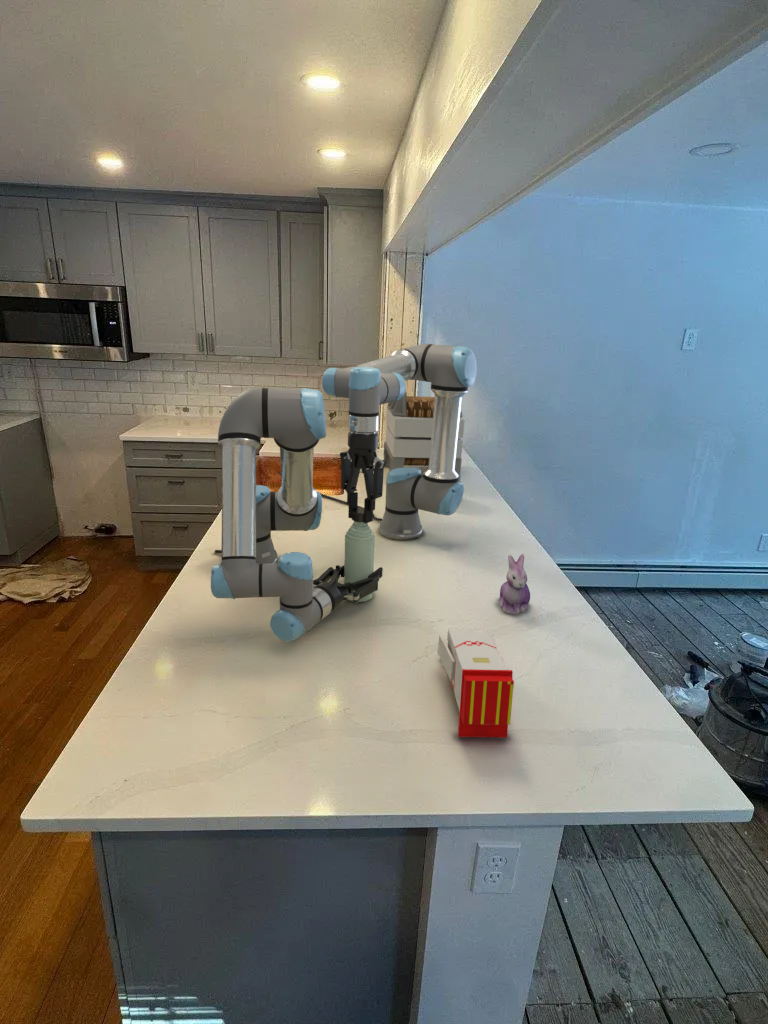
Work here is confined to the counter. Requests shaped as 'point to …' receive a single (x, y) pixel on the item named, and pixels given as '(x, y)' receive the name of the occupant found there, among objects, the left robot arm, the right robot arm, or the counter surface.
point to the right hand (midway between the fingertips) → (360, 519)
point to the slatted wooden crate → (413, 433)
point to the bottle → (359, 554)
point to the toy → (478, 682)
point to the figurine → (515, 588)
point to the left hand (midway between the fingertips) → (367, 568)
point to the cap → (358, 514)
